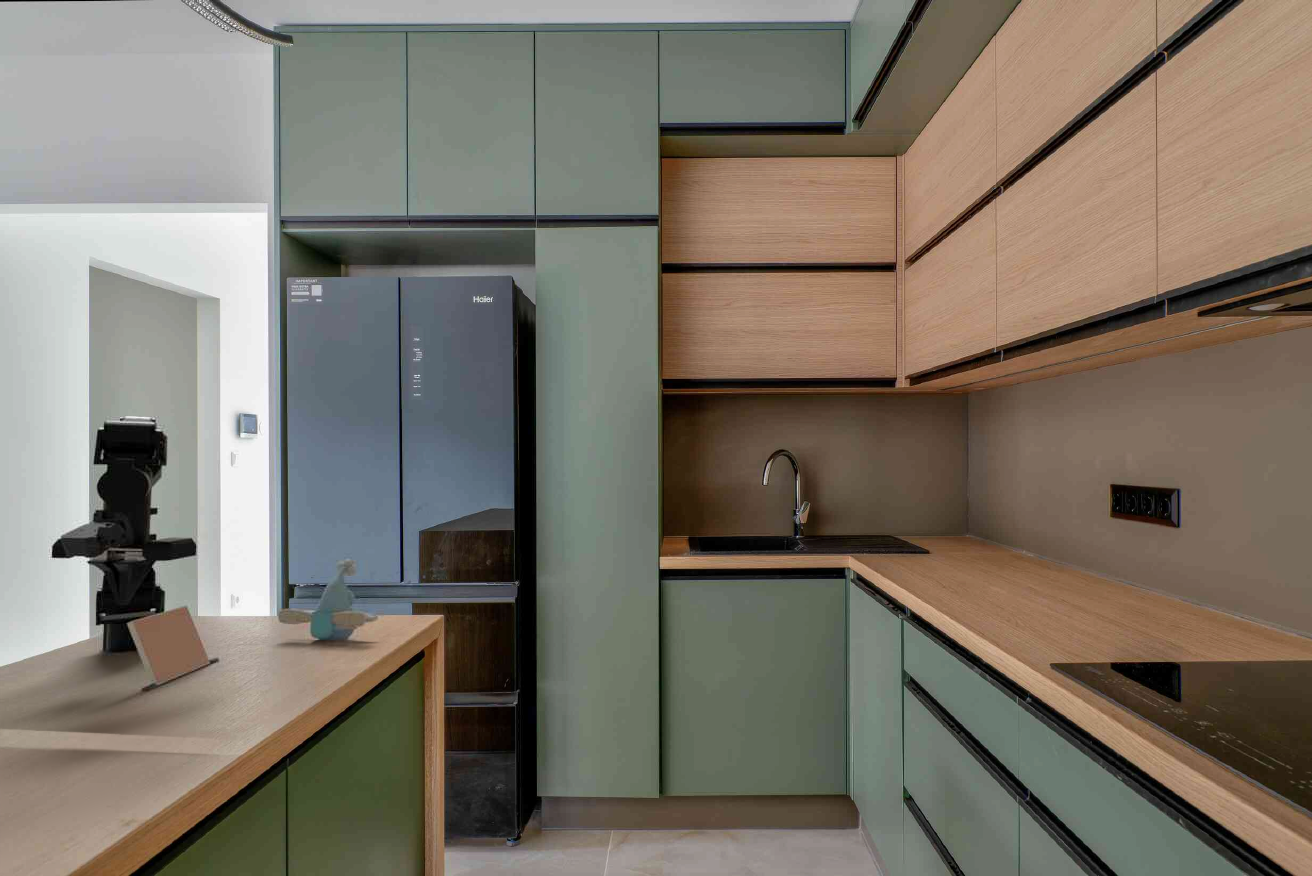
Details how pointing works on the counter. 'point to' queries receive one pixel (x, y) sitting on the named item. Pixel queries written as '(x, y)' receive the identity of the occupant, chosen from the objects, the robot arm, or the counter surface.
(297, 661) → the counter surface
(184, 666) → the tile
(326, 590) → the toy figure
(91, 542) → the robot arm
